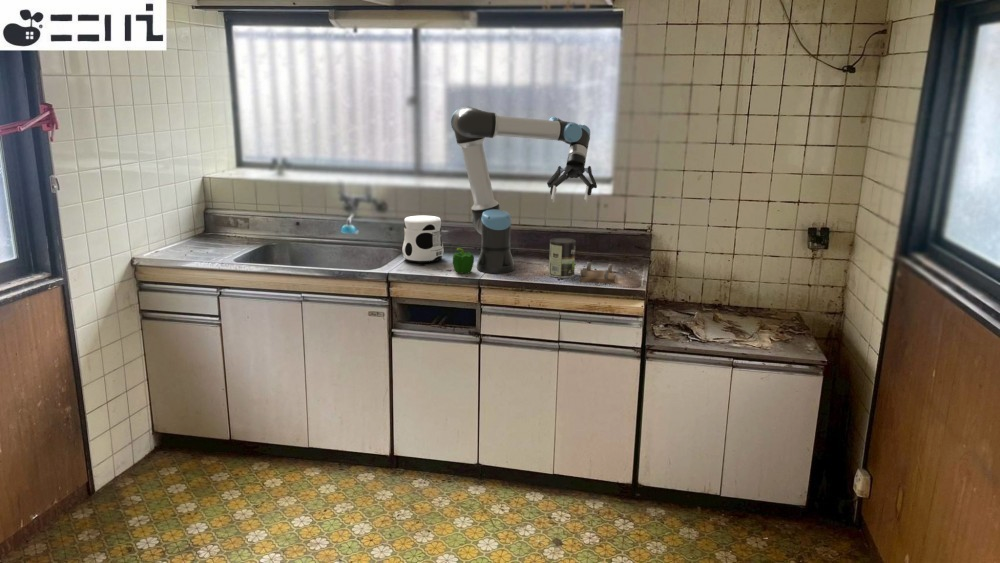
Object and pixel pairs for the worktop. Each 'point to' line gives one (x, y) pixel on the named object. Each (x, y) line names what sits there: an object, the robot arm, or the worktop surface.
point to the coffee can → (562, 257)
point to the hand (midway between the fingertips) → (568, 201)
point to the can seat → (597, 275)
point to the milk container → (422, 239)
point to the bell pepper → (463, 261)
